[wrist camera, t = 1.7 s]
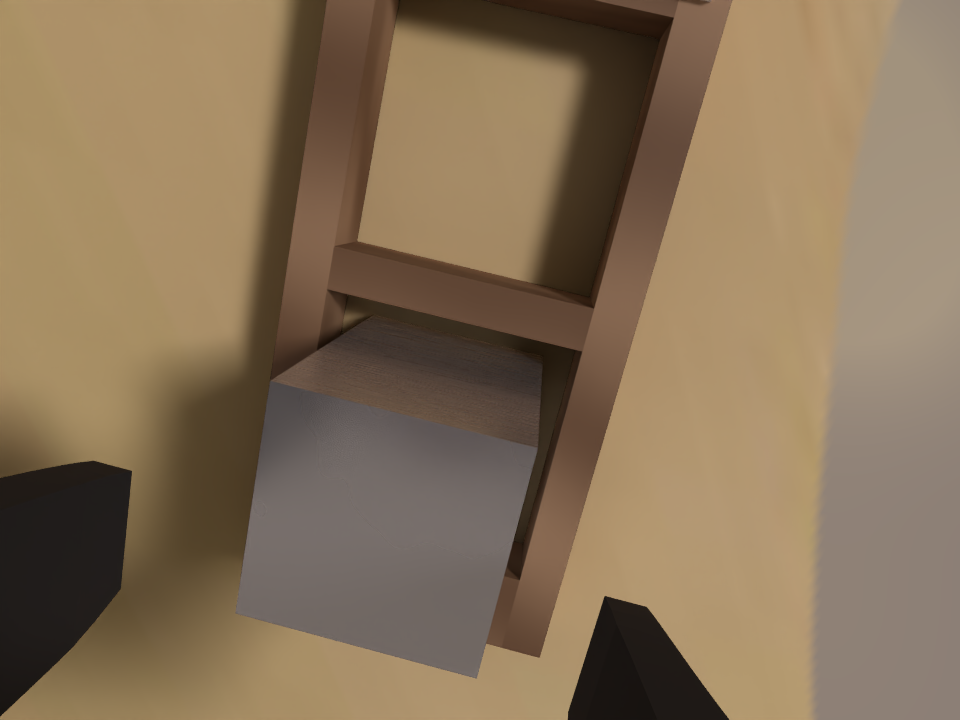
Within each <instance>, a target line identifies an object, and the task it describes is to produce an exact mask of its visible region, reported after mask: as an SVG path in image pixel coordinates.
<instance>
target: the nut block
mask: <svg viewBox="0 0 960 720" xmlns="http://www.w3.org/2000/svg"><path fill="white" fill-rule="evenodd" d="M542 366H543V356H540V355H536V354H532V353H528V352H523V351H519V350H515V349H511V348H507V347H503V346H499V345H495V344H491V343H487V342H483V341H479V340H475V339H470V338H466V337H462V336H458V335H454V334H450V333H446V332H442V331H438V330H434V329H430V328H426V327H421V326H417V325H413V324H409V323H405V322H401V321H397V320H393V319H389V318H385V317H381V316H377V315H372V316H371V317H369V318H368V319H366V320H365V321H363V322H362V323H360V324H358V325H357V326H355V327H354V328H352V329H351V330H349V331H347V332H346V333H344V334H343V335H341V336H340V337H338V338H337V339H335V340H333V341H332V342H330V343H329V344H327V345H326V346H324V347H322V348H321V349H319V350H318V351H316V352H315V353H313V354H311V355H310V356H308V357H307V358H305V359H304V360H302V361H301V362H299V363H297V364H296V365H294V366H293V367H291V368H290V369H288V370H286V371H285V372H283V373H282V374H280V375H279V376H277V377H275V378H274V379H272V380H271V381H270V386H269V392H268V399H267V406H266V412H265V419H264V426H263V432H262V439H261V446H260V453H259V459H258V466H257V473H256V479H255V486H254V493H253V499H252V506H251V513H250V519H249V526H248V533H247V540H246V546H245V553H244V560H243V566H242V573H241V580H240V586H239V593H238V600H237V606H236V614H240V615H243V616H247V617H251V618H255V619H258V620H262V621H266V622H269V623H273V624H277V625H280V626H284V627H288V628H292V629H295V630H299V631H303V632H306V633H310V634H314V635H317V636H321V637H325V638H329V639H332V640H336V641H340V642H343V643H347V644H351V645H354V646H358V647H362V648H366V649H369V650H373V651H377V652H380V653H384V654H388V655H391V656H395V657H399V658H403V659H406V660H410V661H414V662H417V663H421V664H425V665H428V666H432V667H436V668H440V669H443V670H447V671H451V672H454V673H458V674H462V675H465V676H469V677H473V678H477V675H478V672H479V668H480V664H481V660H482V657H483V653H484V649H485V645H486V642H487V638H488V634H489V630H490V627H491V623H492V619H493V615H494V611H495V608H496V604H497V600H498V596H499V593H500V589H501V585H502V581H503V578H504V574H505V570H506V566H507V563H508V559H509V555H510V551H511V548H512V544H513V540H514V536H515V533H516V529H517V525H518V521H519V518H520V514H521V510H522V506H523V503H524V499H525V495H526V491H527V488H528V484H529V480H530V476H531V472H532V469H533V465H534V461H535V457H536V454H537V450H538V438H539V420H540V402H541V384H542Z"/></svg>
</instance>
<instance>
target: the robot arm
mask: <svg viewBox="0 0 960 720" xmlns="http://www.w3.org/2000/svg"><path fill="white" fill-rule="evenodd" d="M131 476H132V471H130V470H126V469H123V468H119V467H115V466H111V465H107V464H104V463H100V462H96V461H89V462H80V463H73V464H67V465H61V466H56V467H50V468H45V469H40V470H36V471H31V472H26V473H21V474H17V475H12V476H8V477H3V478H0V716H1V715H2V714H3V713H4V712H5V711H6V710H7V709H9V708H10V707H11V706H12V705H13V704H14V703H15V702H16V701H17V700H18V699H19V698H20V697H21V696H22V695H23V694H25V693H26V692H27V691H28V690H29V689H30V688H31V687H32V686H33V685H34V684H35V683H36V682H37V681H38V680H39V679H40V678H41V677H42V676H43V675H44V674H45V673H46V672H48V671H49V670H50V669H51V668H52V667H53V666H54V665H55V664H56V663H57V662H58V661H59V660H60V659H61V658H62V657H63V656H64V655H65V654H66V653H67V652H68V651H69V650H70V649H71V648H72V647H73V646H74V645H75V644H76V643H77V641H78V640H79V639H80V638H81V637H82V636H83V634H84V633H85V632H86V631H87V630H88V629H89V627H90V626H91V625H92V624H93V623H94V622H95V620H96V619H97V618H98V617H99V615H100V614H101V613H102V612H103V610H104V609H105V608H106V607H107V605H108V604H109V603H110V602H111V600H112V599H113V598H114V597H115V595H116V594H117V593H118V592H119V590H120V589H121V580H122V570H123V559H124V549H125V538H126V528H127V518H128V507H129V497H130V486H131ZM568 720H729V719H728V717H727V716H726V715H725V714H724V712H723V711H722V710H721V708H720V707H719V706H718V704H717V703H716V702H715V700H714V699H713V698H712V696H711V695H710V694H709V692H708V691H707V690H706V688H705V687H704V685H703V684H702V683H701V681H700V680H699V679H698V677H697V676H696V674H695V673H694V672H693V670H692V669H691V667H690V666H689V665H688V663H687V662H686V660H685V659H684V658H683V656H682V655H681V653H680V652H679V651H678V649H677V648H676V646H675V645H674V644H673V642H672V641H671V639H670V638H669V637H668V635H667V634H666V632H665V631H664V629H663V628H662V627H661V625H660V624H659V623H658V621H657V620H656V618H655V617H654V616H653V614H652V613H651V612H650V611H649V609H648V608H647V607H645V606H641V605H637V604H633V603H630V602H626V601H622V600H618V599H614V598H611V597H607V596H605V597H604V600H603V603H602V606H601V610H600V613H599V616H598V619H597V622H596V625H595V629H594V632H593V635H592V638H591V641H590V645H589V648H588V651H587V654H586V657H585V660H584V664H583V667H582V670H581V673H580V676H579V679H578V683H577V686H576V689H575V692H574V695H573V699H572V702H571V705H570V708H569V711H568Z"/></svg>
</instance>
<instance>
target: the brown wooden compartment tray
mask: <svg viewBox="0 0 960 720" xmlns="http://www.w3.org/2000/svg"><path fill="white" fill-rule="evenodd" d="M484 1H488V2H493V3H497V4H502V5H507V6H511V7H516V8H520V9H525V10H529V11H534V12H538V13H543V14H548V15H552V16H557V17H561V18H566V19H570V20H575V21H579V22H584V23H589V24H593V25H598V26H602V27H607V28H611V29H616V30H620V31H625V32H630V33H634V34H639V35H643V36H648V37H652V38H657V39H660V40H659V44H658V48H657V51H656V55H655V59H654V62H653V66H652V70H651V73H650V77H649V81H648V85H647V88H646V92H645V96H644V99H643V103H642V107H641V110H640V114H639V118H638V121H637V125H636V129H635V132H634V136H633V140H632V144H631V147H630V151H629V155H628V158H627V162H626V166H625V169H624V173H623V177H622V180H621V184H620V188H619V191H618V195H617V199H616V203H615V206H614V210H613V214H612V217H611V221H610V225H609V228H608V232H607V236H606V239H605V243H604V247H603V250H602V254H601V258H600V262H599V265H598V269H597V273H596V276H595V280H594V284H593V287H592V291H591V295H590V297H586V296H582V295H578V294H574V293H570V292H566V291H561V290H557V289H553V288H549V287H545V286H541V285H536V284H532V283H528V282H524V281H520V280H516V279H511V278H507V277H503V276H499V275H495V274H491V273H486V272H482V271H478V270H474V269H470V268H466V267H461V266H457V265H453V264H449V263H445V262H441V261H436V260H432V259H428V258H424V257H420V256H416V255H411V254H407V253H403V252H399V251H395V250H391V249H386V248H382V247H378V246H374V245H370V244H366V243H361V242H357V238H358V233H359V227H360V221H361V215H362V210H363V204H364V198H365V193H366V187H367V181H368V175H369V170H370V164H371V158H372V153H373V147H374V141H375V135H376V130H377V124H378V118H379V113H380V107H381V101H382V96H383V90H384V84H385V78H386V73H387V67H388V61H389V56H390V50H391V44H392V38H393V33H394V27H395V21H396V16H397V10H398V4H399V0H327V3H326V10H325V17H324V23H323V30H322V37H321V43H320V50H319V57H318V63H317V70H316V77H315V83H314V90H313V97H312V104H311V110H310V117H309V124H308V130H307V137H306V144H305V150H304V157H303V164H302V170H301V177H300V184H299V191H298V197H297V204H296V211H295V217H294V224H293V231H292V237H291V244H290V251H289V257H288V264H287V271H286V277H285V284H284V291H283V298H282V304H281V311H280V318H279V324H278V331H277V338H276V344H275V351H274V358H273V364H272V371H271V378H270V381H271V380H272V379H274V378H275V377H277V376H279V375H280V374H282V373H283V372H285V371H286V370H288V369H290V368H291V367H293V366H294V365H296V364H297V363H299V362H301V361H302V360H304V359H305V358H307V357H308V356H310V355H311V354H313V353H315V352H316V351H318V350H319V349H321V348H322V347H324V346H326V345H327V344H329V343H330V342H332V341H333V340H335V339H337V338H338V337H340V335H341V330H342V324H343V318H344V313H345V307H346V301H347V295H348V294H349V295H353V296H357V297H361V298H365V299H369V300H373V301H377V302H382V303H386V304H390V305H394V306H398V307H402V308H406V309H410V310H414V311H418V312H422V313H427V314H431V315H435V316H439V317H443V318H447V319H451V320H455V321H459V322H463V323H468V324H472V325H476V326H480V327H484V328H488V329H492V330H496V331H500V332H504V333H508V334H513V335H517V336H521V337H525V338H529V339H533V340H537V341H541V342H545V343H549V344H553V345H558V346H562V347H566V348H570V349H574V350H575V354H574V357H573V361H572V365H571V368H570V372H569V376H568V380H567V383H566V387H565V391H564V394H563V398H562V402H561V405H560V409H559V413H558V416H557V420H556V424H555V427H554V431H553V435H552V439H551V442H550V446H549V450H548V453H547V457H546V461H545V464H544V468H543V472H542V475H541V479H540V483H539V486H538V490H537V494H536V498H535V501H534V505H533V509H532V512H531V516H530V520H529V523H528V527H527V531H526V534H525V538H524V542H523V544H521V543H518V542H514V541H513V544H512V548H511V551H510V555H509V559H508V563H507V566H506V570H505V574H504V578H503V581H502V585H501V589H500V593H499V596H498V600H497V604H496V608H495V611H494V615H493V619H492V623H491V627H490V630H489V634H488V638H487V642H486V644H490V645H494V646H497V647H501V648H505V649H509V650H512V651H516V652H520V653H523V654H527V655H531V656H535V657H538V658H540V654H541V651H542V648H543V644H544V641H545V637H546V634H547V631H548V627H549V624H550V620H551V617H552V613H553V610H554V607H555V603H556V600H557V596H558V593H559V590H560V586H561V583H562V579H563V576H564V573H565V569H566V566H567V562H568V559H569V556H570V552H571V549H572V545H573V542H574V538H575V535H576V532H577V528H578V525H579V521H580V518H581V515H582V511H583V508H584V504H585V501H586V498H587V494H588V491H589V487H590V484H591V480H592V477H593V474H594V470H595V467H596V463H597V460H598V457H599V453H600V450H601V446H602V443H603V440H604V436H605V433H606V429H607V426H608V422H609V419H610V416H611V412H612V409H613V405H614V402H615V399H616V395H617V392H618V388H619V385H620V382H621V378H622V375H623V371H624V368H625V364H626V361H627V358H628V354H629V351H630V347H631V344H632V341H633V337H634V334H635V330H636V327H637V324H638V320H639V317H640V313H641V310H642V306H643V303H644V300H645V296H646V293H647V289H648V286H649V283H650V279H651V276H652V272H653V269H654V266H655V262H656V259H657V255H658V252H659V248H660V245H661V242H662V238H663V235H664V231H665V228H666V225H667V221H668V218H669V214H670V211H671V208H672V204H673V201H674V197H675V194H676V190H677V187H678V184H679V180H680V177H681V173H682V170H683V167H684V163H685V160H686V156H687V153H688V150H689V146H690V143H691V139H692V136H693V132H694V129H695V126H696V122H697V119H698V115H699V112H700V109H701V105H702V102H703V98H704V95H705V92H706V88H707V85H708V81H709V78H710V74H711V71H712V68H713V64H714V61H715V57H716V54H717V51H718V47H719V44H720V40H721V37H722V34H723V30H724V27H725V23H726V20H727V17H728V13H729V10H730V6H731V3H732V0H484ZM269 386H270V385H269ZM268 392H269V391H268ZM267 399H268V398H267ZM266 406H267V405H266ZM265 412H266V411H265ZM264 419H265V418H264ZM263 426H264V425H263ZM262 432H263V431H262ZM261 439H262V438H261ZM260 446H261V445H260ZM259 453H260V451H259ZM258 459H259V458H258ZM257 466H258V465H257ZM256 473H257V471H256ZM255 479H256V478H255ZM254 486H255V485H254ZM253 493H254V492H253ZM252 499H253V498H252ZM251 506H252V505H251ZM250 513H251V512H250ZM249 519H250V518H249ZM248 526H249V525H248ZM247 533H248V532H247ZM246 540H247V538H246ZM245 546H246V545H245ZM244 553H245V552H244ZM243 560H244V558H243ZM242 566H243V565H242ZM241 573H242V572H241Z"/></svg>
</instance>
